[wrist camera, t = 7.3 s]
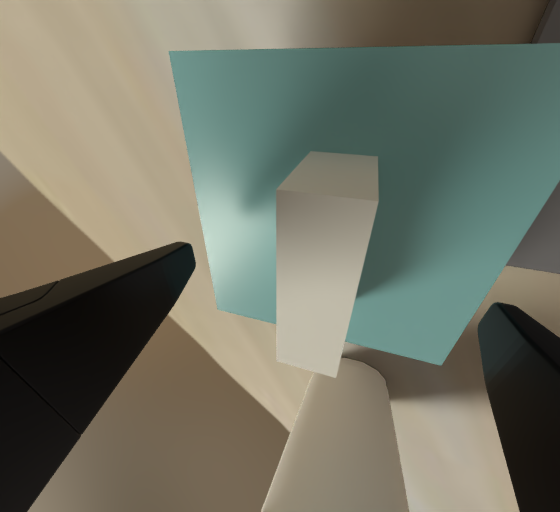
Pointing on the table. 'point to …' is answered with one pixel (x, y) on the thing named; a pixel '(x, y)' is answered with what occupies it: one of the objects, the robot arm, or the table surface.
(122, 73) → the table surface
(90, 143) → the table surface
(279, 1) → the table surface
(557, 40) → the mat
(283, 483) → the foam cup
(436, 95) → the cover plate
